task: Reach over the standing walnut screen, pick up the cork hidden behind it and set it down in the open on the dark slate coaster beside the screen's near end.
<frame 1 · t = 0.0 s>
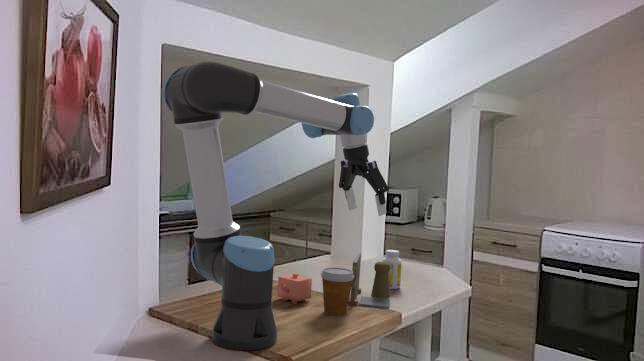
hand: (367, 211, 163), 28 cm above the countertop, tool tilted 20°, fingers open, 13 cm apart
supplement bottle: (390, 287, 184), on the countertop
pink cube teapot: (292, 301, 159), on the countertop
disposable coffee cup: (335, 313, 149), on the countertop
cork: (380, 296, 171), on the countertop
coaster: (374, 303, 162), on the countertop
screen: (354, 297, 167), on the countertop
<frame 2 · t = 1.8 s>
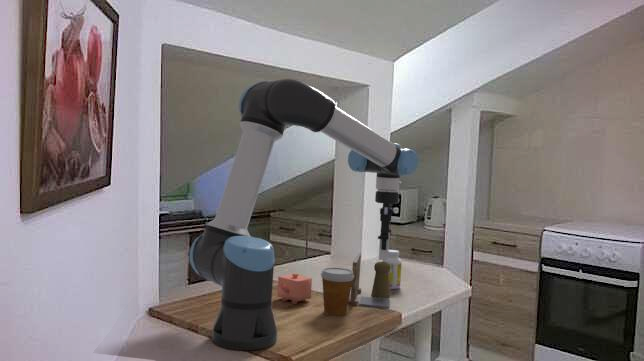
hand: (383, 256, 171), 13 cm above the countertop, tool pointing down, fingers open, 13 cm apart
nothing on the countertop moved.
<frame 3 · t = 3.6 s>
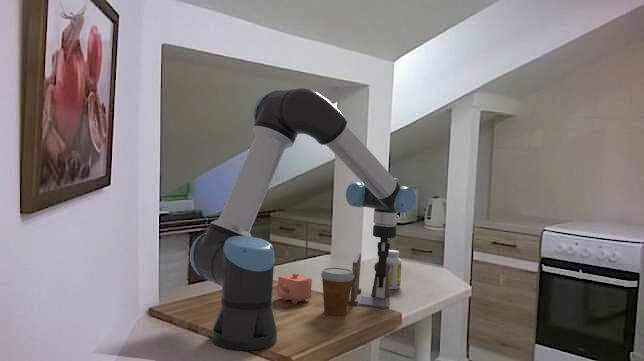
hand: (380, 293, 171), 1 cm above the countertop, tool pointing down, fingers open, 9 cm apart
nothing on the countertop moved.
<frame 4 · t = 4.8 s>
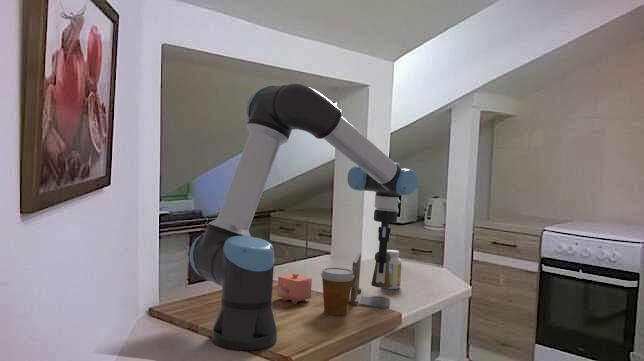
hand: (380, 280, 171), 5 cm above the countertop, tool pointing down
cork: (380, 286, 170), point 3 cm above the countertop, touching gripper
everything else where it was.
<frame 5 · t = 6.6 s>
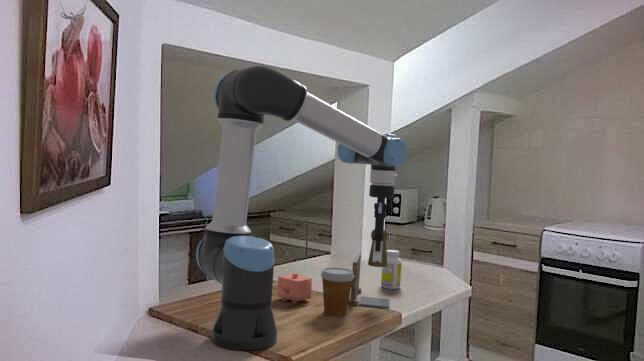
hand: (377, 260, 161), 13 cm above the countertop, tool pointing down
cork: (377, 265, 161), point 12 cm above the countertop, touching gripper
everything else where it was.
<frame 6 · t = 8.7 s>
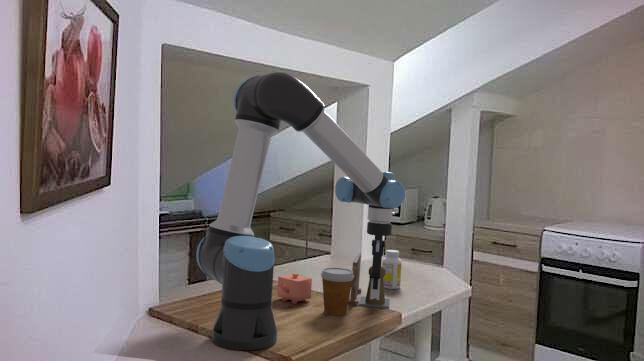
hand: (374, 296, 162), 2 cm above the countertop, tool pointing down, fingers open, 5 cm apart
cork: (375, 302, 161), resting on coaster, touching gripper
everything else where it was.
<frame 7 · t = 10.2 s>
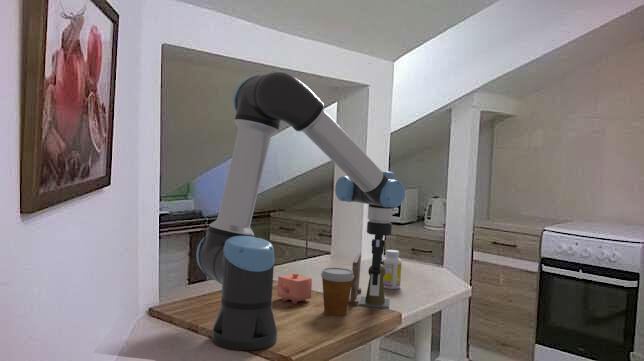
hand: (375, 290, 161), 4 cm above the countertop, tool pointing down, fingers open, 13 cm apart
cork: (374, 301, 162), resting on coaster
everything else where it was.
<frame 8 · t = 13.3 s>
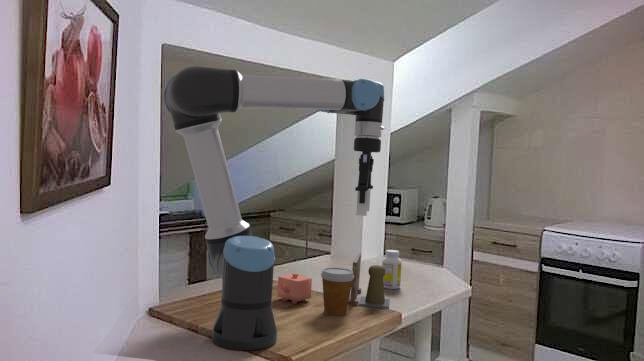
hand: (363, 213, 148), 29 cm above the countertop, tool pointing down, fingers open, 13 cm apart
nothing on the countertop moved.
at the end: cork inside the target area on the coaster (0.1 cm from its centre), point 0.4 cm above the coaster's base; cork tilted 0°; the gripper is holding nothing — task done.
